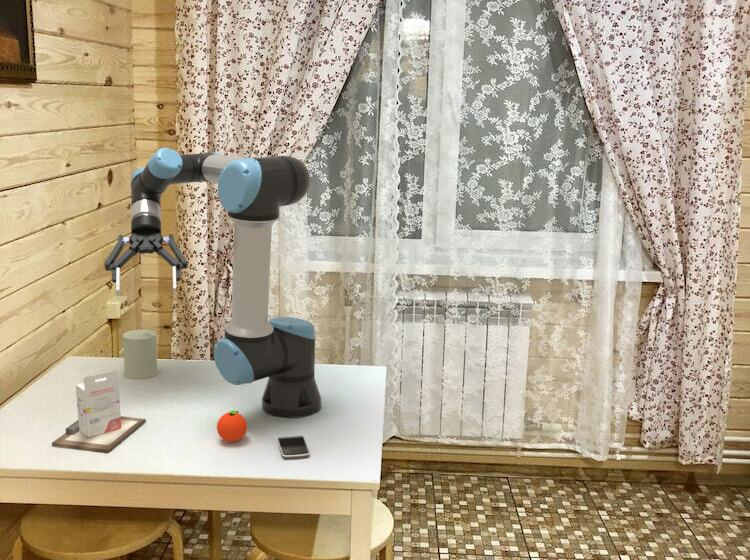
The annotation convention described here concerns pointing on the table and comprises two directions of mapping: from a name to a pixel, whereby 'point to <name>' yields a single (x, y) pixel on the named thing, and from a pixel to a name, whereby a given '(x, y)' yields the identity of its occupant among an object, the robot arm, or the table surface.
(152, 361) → the can
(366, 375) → the table surface
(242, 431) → the clementine
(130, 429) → the clipboard
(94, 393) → the ink cartridge box
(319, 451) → the table surface
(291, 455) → the cell phone
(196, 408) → the table surface
